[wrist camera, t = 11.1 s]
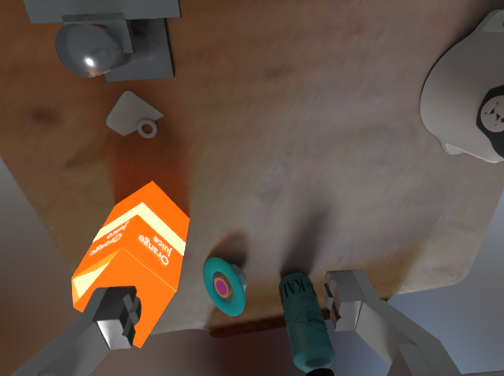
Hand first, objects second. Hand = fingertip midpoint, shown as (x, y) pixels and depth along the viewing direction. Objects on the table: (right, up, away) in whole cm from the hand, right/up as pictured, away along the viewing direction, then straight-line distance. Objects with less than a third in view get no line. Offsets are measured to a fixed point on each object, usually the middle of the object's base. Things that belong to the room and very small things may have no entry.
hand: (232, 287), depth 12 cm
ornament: (-4, -11, +40) cm, 42 cm away
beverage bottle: (+9, -13, +43) cm, 46 cm away
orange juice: (-15, 0, +33) cm, 36 cm away
